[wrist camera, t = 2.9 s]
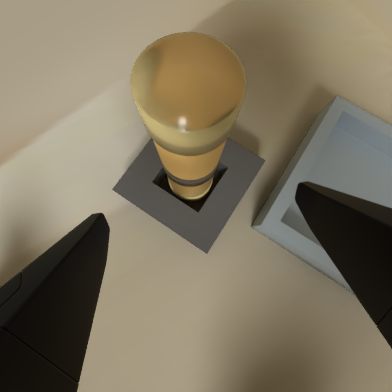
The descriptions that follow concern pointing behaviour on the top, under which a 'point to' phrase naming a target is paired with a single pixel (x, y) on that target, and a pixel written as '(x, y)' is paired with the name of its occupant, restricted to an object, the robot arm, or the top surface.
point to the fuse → (189, 105)
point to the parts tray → (330, 177)
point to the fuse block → (178, 211)
